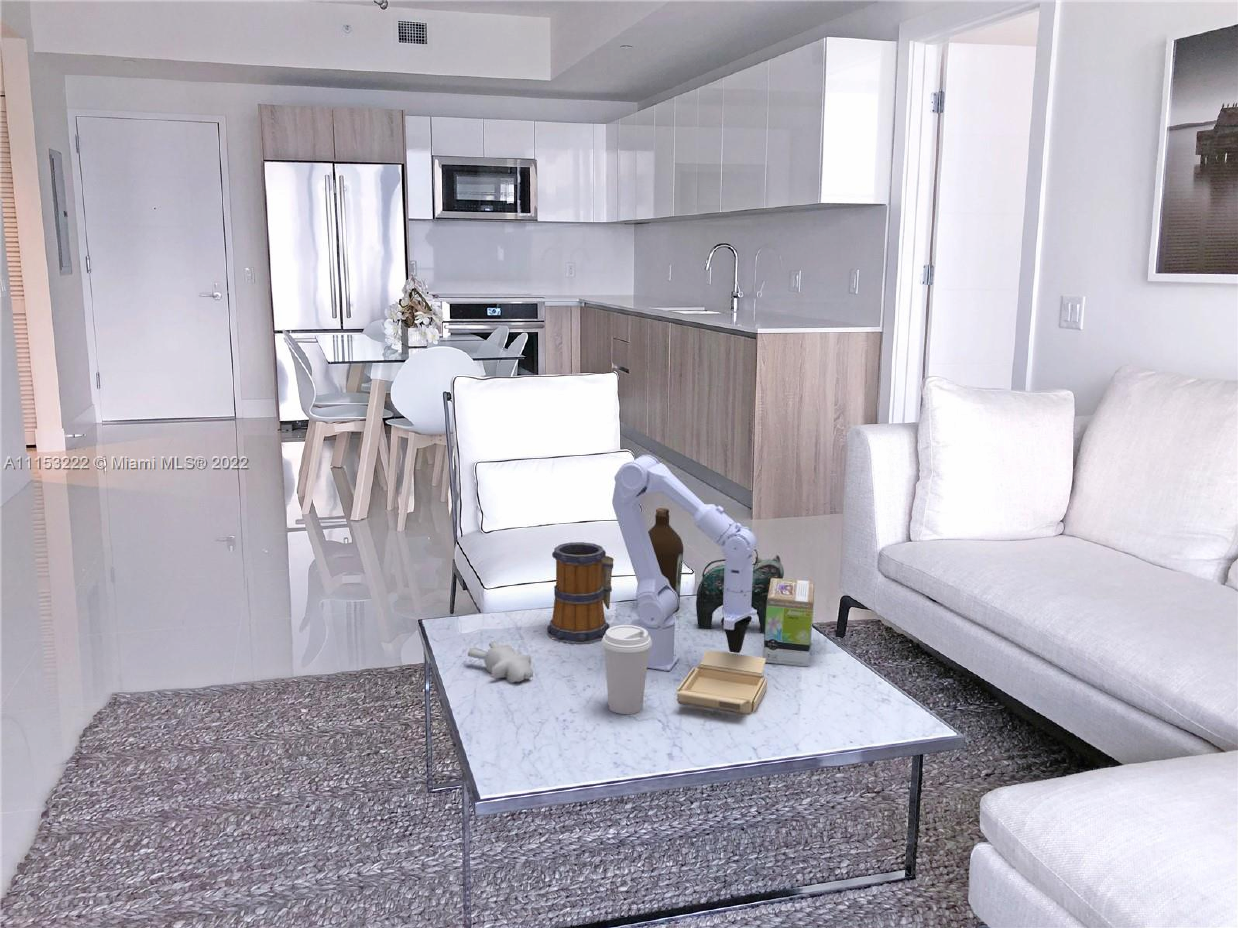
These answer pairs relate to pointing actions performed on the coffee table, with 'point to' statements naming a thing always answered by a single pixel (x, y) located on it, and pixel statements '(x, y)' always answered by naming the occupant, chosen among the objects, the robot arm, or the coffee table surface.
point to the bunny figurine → (504, 662)
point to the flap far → (733, 661)
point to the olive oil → (667, 549)
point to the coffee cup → (626, 667)
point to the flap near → (711, 697)
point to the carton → (723, 688)
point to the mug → (580, 593)
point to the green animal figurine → (714, 589)
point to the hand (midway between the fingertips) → (735, 651)
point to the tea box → (789, 622)
